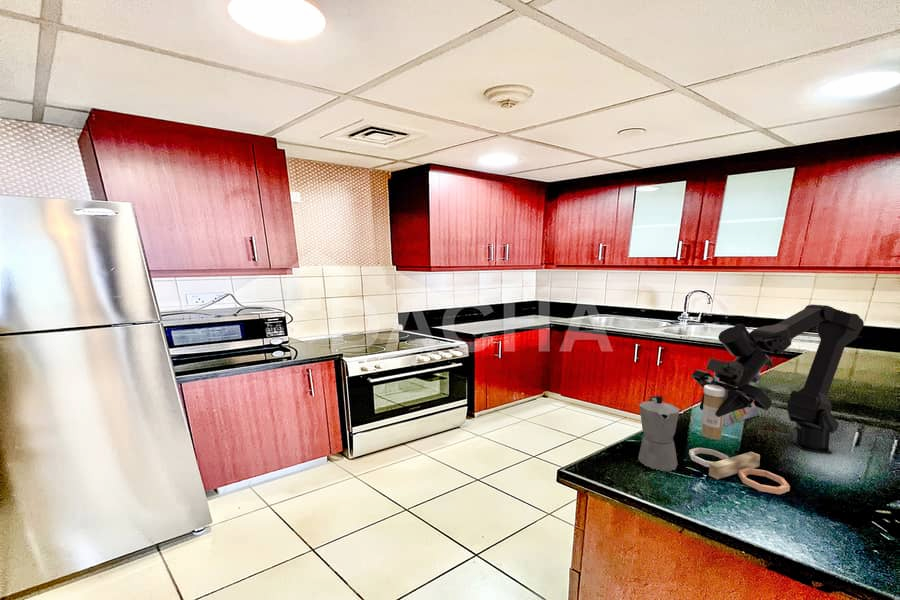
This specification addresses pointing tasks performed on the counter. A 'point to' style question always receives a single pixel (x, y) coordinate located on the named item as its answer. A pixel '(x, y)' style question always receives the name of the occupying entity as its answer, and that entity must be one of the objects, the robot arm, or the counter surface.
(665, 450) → the coffeepot
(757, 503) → the counter surface
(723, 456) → the collar
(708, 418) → the sprinkles bottle
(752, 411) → the cake pan box
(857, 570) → the counter surface
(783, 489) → the keeper collar
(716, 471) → the door edge rail
